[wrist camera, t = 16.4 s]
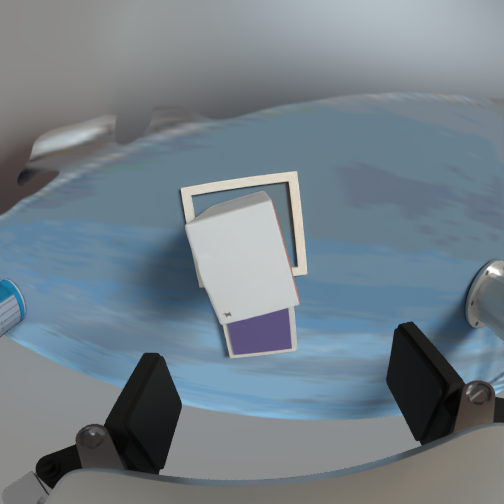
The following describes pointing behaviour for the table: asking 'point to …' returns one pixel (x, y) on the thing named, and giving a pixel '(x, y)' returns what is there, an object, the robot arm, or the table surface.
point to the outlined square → (253, 181)
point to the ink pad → (262, 334)
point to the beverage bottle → (10, 306)
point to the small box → (243, 258)
